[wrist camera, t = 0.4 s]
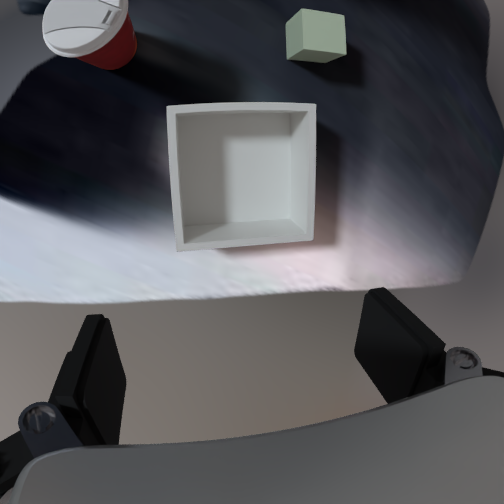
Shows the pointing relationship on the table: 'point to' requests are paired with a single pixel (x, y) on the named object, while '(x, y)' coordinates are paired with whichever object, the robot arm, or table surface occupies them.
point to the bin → (242, 173)
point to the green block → (315, 36)
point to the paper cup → (91, 31)
